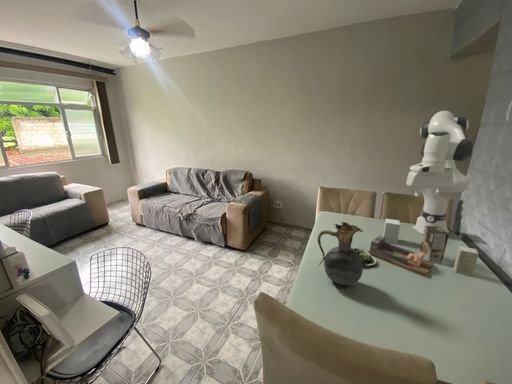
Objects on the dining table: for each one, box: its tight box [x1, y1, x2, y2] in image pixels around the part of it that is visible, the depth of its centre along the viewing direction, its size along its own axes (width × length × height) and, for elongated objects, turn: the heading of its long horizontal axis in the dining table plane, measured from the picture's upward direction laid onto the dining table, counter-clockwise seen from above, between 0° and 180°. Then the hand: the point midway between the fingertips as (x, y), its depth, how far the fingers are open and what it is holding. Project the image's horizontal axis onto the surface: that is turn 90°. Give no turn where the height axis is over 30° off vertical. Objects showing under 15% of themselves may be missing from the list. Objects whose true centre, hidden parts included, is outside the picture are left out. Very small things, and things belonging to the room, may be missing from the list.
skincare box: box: [453, 245, 479, 277], centre depth 100 cm, size 6×4×12 cm
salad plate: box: [351, 247, 377, 269], centre depth 115 cm, size 19×18×5 cm
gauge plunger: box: [406, 251, 425, 267], centre depth 106 cm, size 8×6×5 cm
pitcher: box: [317, 221, 364, 289], centre depth 93 cm, size 11×19×30 cm, turn 65°
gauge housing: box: [367, 234, 435, 278], centre depth 111 cm, size 13×26×8 cm, turn 39°
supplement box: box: [382, 218, 401, 245], centre depth 130 cm, size 7×7×13 cm
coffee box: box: [419, 226, 450, 263], centre depth 111 cm, size 9×6×16 cm
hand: (426, 196), depth 104 cm, fingers open, 8 cm apart
